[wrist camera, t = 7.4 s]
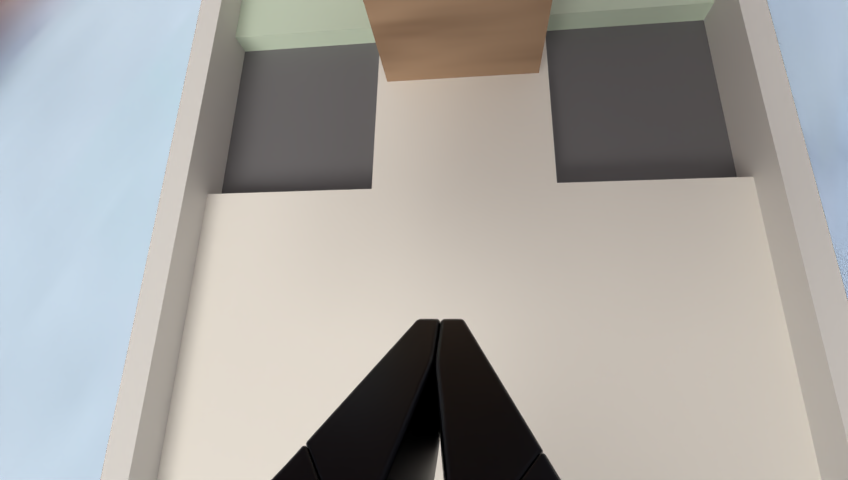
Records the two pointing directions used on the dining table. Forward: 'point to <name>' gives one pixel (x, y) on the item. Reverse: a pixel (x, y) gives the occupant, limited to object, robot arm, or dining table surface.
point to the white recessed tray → (493, 245)
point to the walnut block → (458, 37)
